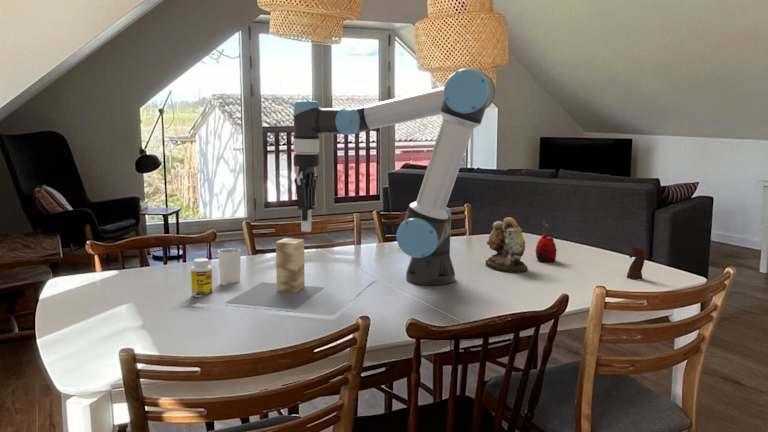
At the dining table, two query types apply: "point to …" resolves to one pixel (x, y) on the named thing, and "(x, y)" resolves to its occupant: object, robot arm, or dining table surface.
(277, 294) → the mat
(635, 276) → the chess piece
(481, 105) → the robot arm
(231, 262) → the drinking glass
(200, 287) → the supplement bottle
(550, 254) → the red clay folk toy
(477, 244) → the dining table surface
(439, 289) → the dining table surface
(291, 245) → the oak block
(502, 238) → the owl figurine
